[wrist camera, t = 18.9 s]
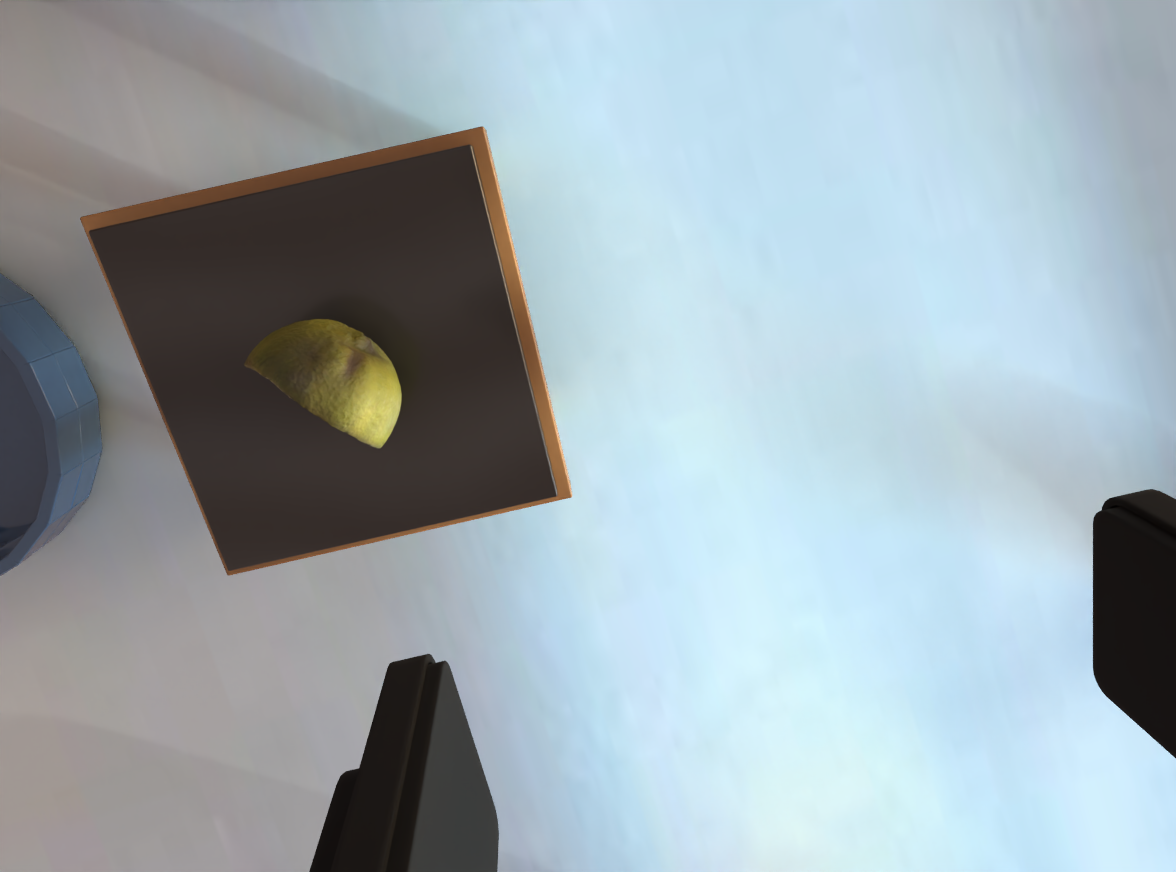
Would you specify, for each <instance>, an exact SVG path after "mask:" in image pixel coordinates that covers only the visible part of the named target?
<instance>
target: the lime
mask: <svg viewBox="0 0 1176 872" xmlns="http://www.w3.org/2000/svg"><path fill="white" fill-rule="evenodd" d="M244 366H246V367H248V368H251V369H252V370H255V371H256V372H258V373H259V374H260V375H262V376H263V377H265V378H267V379H269V380H270V381H271V382H273V383H274V384H275V385H276V386H277V387H278V388H279V389H280V390H281V391H282V392H284V393H285V394H286V395H288V397H289V398H291V399H293V400H294V401H296V402H297V403H298V404H299V405H300V406H301V407H302V408H305V409H306V410H308V411H309V412H310V413H312V414H313V415H316V416H318V417H319V418H320V419H322V420H323V421H325V422H327V423H328V424H329V425H331V426H332V427H334V428H336V429H338V430H339V431H342V432H345V433H347V434H348V435H350V436H352V437H354V438H356V439H357V440H358V441H360V442H363V443H365V444H368V445H370V446H371V447H373V448H376V449H380V448H381V447H382V446H383V445H384V443H385V442H386V441H387V439H388V437H389V436H390V434H391V432H392V430H393V428H394V426H395V424H396V421H397V418H398V416H399V412H400V407H401V398H402V393H401V386H400V383H399V380H398V377H397V374H396V371H395V368H394V366H393V364H392V362H391V361H390V359H389V358H388V357H387V355H386V354H385V353H384V351H383V350H382V349H381V348H380V347H379V346H378V345H377V344H376V343H374V342H373V341H372V340H371V339H370V338H368V337H366V336H365V335H364V334H363V333H362V332H360V331H357V330H355V329H353V328H350V327H348V326H347V325H345V324H343V323H341V322H338V321H334V320H329V319H313V320H305V321H299V322H295V323H292V324H290V325H287V326H285V327H282V328H280V329H278V330H276V331H274V332H272V333H270V334H269V335H268V336H267V337H265V338H264V339H263V340H262V341H260V343H259V344H258V345H257V346H256V347H255V348H254V349H253V350H252V351H251V353H250V354H249V356H248V358H247V360H246V362H245V363H244Z"/></svg>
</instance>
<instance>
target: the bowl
mask: <svg viewBox="0 0 1176 872" xmlns="http://www.w3.org/2000/svg"><path fill="white" fill-rule="evenodd" d="M101 452H102V438H101V428H100V417H99V406H98V399H97V395H96V393H95V390H94V388H93V386H92V384H91V381H90V379H89V377H88V374H87V372H86V370H85V368H84V365H83V363H82V361H81V358H80V356H79V354H78V352H77V349H76V347H75V346H74V345H73V343H72V342H71V341H70V340H69V339H68V337H67V336H66V335H65V334H64V333H63V331H62V330H61V329H60V328H59V327H58V325H57V324H56V323H55V322H54V321H53V319H52V318H51V317H50V316H49V315H48V313H47V312H46V311H45V310H44V309H43V307H42V306H41V305H40V304H39V303H38V301H37V300H36V299H34V297H33V296H32V295H30V294H29V293H28V292H26V291H25V290H23V289H22V288H21V287H19V286H18V285H16V284H15V283H14V282H12V281H11V280H9V279H8V278H7V277H5V276H4V275H2V274H1V273H0V576H1V575H3V574H4V573H6V572H8V571H9V570H11V569H13V568H14V567H16V566H18V565H19V564H20V563H22V562H23V561H24V560H26V559H27V558H28V557H29V556H31V555H32V554H33V553H35V552H36V551H37V550H39V549H40V548H41V547H43V546H44V545H45V544H46V543H48V542H49V541H50V540H52V539H53V538H54V537H56V536H57V535H58V534H60V533H61V532H62V531H63V529H64V528H65V527H66V526H67V524H68V523H69V522H70V520H71V519H72V518H73V517H74V515H75V514H76V513H77V511H78V510H79V509H80V507H81V506H82V505H83V504H84V502H85V501H86V500H87V498H88V497H89V495H90V492H91V488H92V485H93V481H94V478H95V474H96V470H97V467H98V463H99V460H100V456H101Z"/></svg>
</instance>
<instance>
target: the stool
mask: <svg viewBox="0 0 1176 872" xmlns="http://www.w3.org/2000/svg"><path fill="white" fill-rule="evenodd" d="M80 220H81V222H82V224H83V227H84V229H85V232H86V234H87V237H88V239H89V241H90V244H91V246H92V249H93V251H94V253H95V256H96V258H97V261H98V263H99V266H100V268H101V270H102V273H103V275H104V278H105V280H106V282H107V285H108V287H109V290H110V292H111V295H112V297H113V299H114V302H115V304H116V307H117V309H118V311H119V314H120V316H121V319H122V321H123V324H124V326H125V328H126V331H127V333H128V336H129V338H130V340H131V343H132V345H133V348H134V350H135V353H136V355H137V357H138V360H139V362H140V365H141V367H142V369H143V372H144V374H145V377H146V379H147V382H148V384H149V386H150V389H151V391H152V394H153V396H154V399H155V401H156V403H157V406H158V408H159V411H160V413H161V415H162V418H163V420H164V423H165V425H166V428H167V430H168V432H169V435H170V437H171V440H172V442H173V444H174V447H175V449H176V452H177V454H178V457H179V459H180V461H181V464H182V466H183V469H184V471H185V473H186V476H187V478H188V481H189V483H190V486H191V488H192V490H193V493H194V495H195V498H196V500H197V502H198V505H199V507H200V510H201V512H202V515H203V517H204V519H205V522H206V524H207V527H208V529H209V531H210V534H211V536H212V539H213V541H214V544H215V546H216V548H217V551H218V553H219V556H220V558H221V560H222V563H223V565H224V568H225V570H226V573H227V575H233V574H237V573H242V572H246V571H250V570H255V569H259V568H264V567H268V566H272V565H277V564H281V563H286V562H290V561H294V560H299V559H303V558H307V557H312V556H316V555H321V554H325V553H329V552H334V551H338V550H343V549H347V548H351V547H356V546H360V545H364V544H369V543H373V542H378V541H382V540H386V539H391V538H395V537H400V536H404V535H408V534H413V533H417V532H422V531H426V530H430V529H435V528H439V527H443V526H448V525H452V524H457V523H461V522H465V521H470V520H474V519H479V518H483V517H487V516H492V515H496V514H501V513H505V512H509V511H514V510H518V509H522V508H527V507H531V506H536V505H540V504H544V503H549V502H553V501H558V500H562V499H566V498H571V497H572V491H571V484H570V479H569V475H568V471H567V467H566V463H565V458H564V454H563V450H562V446H561V442H560V437H559V433H558V429H557V425H556V421H555V417H554V412H553V408H552V404H551V400H550V396H549V391H548V387H547V383H546V379H545V375H544V371H543V366H542V362H541V358H540V354H539V350H538V345H537V341H536V337H535V333H534V329H533V325H532V320H531V316H530V312H529V308H528V304H527V299H526V295H525V291H524V287H523V283H522V278H521V274H520V270H519V266H518V262H517V258H516V253H515V249H514V245H513V241H512V237H511V232H510V228H509V224H508V220H507V216H506V212H505V207H504V203H503V199H502V195H501V191H500V186H499V182H498V178H497V174H496V170H495V166H494V161H493V157H492V153H491V149H490V145H489V140H488V136H487V132H486V129H485V128H484V127H478V128H473V129H469V130H464V131H460V132H455V133H451V134H447V135H442V136H438V137H433V138H429V139H424V140H420V141H416V142H411V143H407V144H402V145H398V146H393V147H389V148H385V149H380V150H376V151H371V152H367V153H362V154H358V155H353V156H349V157H345V158H340V159H336V160H331V161H327V162H322V163H318V164H314V165H309V166H305V167H300V168H296V169H291V170H287V171H283V172H278V173H274V174H269V175H265V176H260V177H256V178H252V179H247V180H243V181H238V182H234V183H229V184H225V185H221V186H216V187H212V188H207V189H203V190H198V191H194V192H190V193H185V194H181V195H176V196H172V197H167V198H163V199H159V200H154V201H150V202H145V203H141V204H136V205H132V206H128V207H123V208H119V209H114V210H110V211H105V212H101V213H97V214H92V215H88V216H83V217H81V218H80ZM313 319H329V320H334V321H338V322H341V323H343V324H345V325H347V326H348V327H350V328H353V329H355V330H357V331H360V332H362V333H363V334H364V335H365V336H366V337H368V338H370V339H371V340H372V341H373V342H374V343H376V344H377V345H378V346H379V347H380V348H381V349H382V350H383V351H384V353H385V354H386V355H387V357H388V358H389V359H390V361H391V362H392V364H393V366H394V368H395V371H396V374H397V377H398V380H399V383H400V386H401V393H402V398H401V407H400V412H399V416H398V418H397V421H396V424H395V426H394V428H393V430H392V432H391V434H390V436H389V437H388V439H387V441H386V442H385V443H384V445H383V446H382V447H381V448H380V449H376V448H373V447H371V446H370V445H368V444H365V443H363V442H360V441H358V440H357V439H356V438H354V437H352V436H350V435H348V434H347V433H345V432H342V431H339V430H338V429H336V428H334V427H332V426H331V425H329V424H328V423H327V422H325V421H323V420H322V419H320V418H319V417H318V416H316V415H313V414H312V413H310V412H309V411H308V410H306V409H305V408H302V407H301V406H300V405H299V404H298V403H297V402H296V401H294V400H293V399H291V398H289V397H288V395H286V394H285V393H284V392H282V391H281V390H280V389H279V388H278V387H277V386H276V385H275V384H274V383H273V382H271V381H270V380H269V379H267V378H265V377H263V376H262V375H260V374H259V373H258V372H256V371H255V370H252V369H251V368H248V367H246V366H244V363H245V362H246V360H247V358H248V356H249V354H250V353H251V351H252V350H253V349H254V348H255V347H256V346H257V345H258V344H259V343H260V341H262V340H263V339H264V338H265V337H267V336H268V335H269V334H270V333H272V332H274V331H276V330H278V329H280V328H282V327H285V326H287V325H290V324H292V323H295V322H299V321H305V320H313Z"/></svg>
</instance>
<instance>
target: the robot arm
mask: <svg viewBox="0 0 1176 872" xmlns="http://www.w3.org/2000/svg"><path fill="white" fill-rule="evenodd" d="M1093 671H1094V676H1095V679H1096V681H1097V683H1098V686H1099V687H1100V689H1101V690H1102V692H1103V693H1104V694H1105V695H1106V696H1107V697H1108V698H1109V699H1110V700H1111V701H1112V702H1113V703H1114V704H1116V705H1117V706H1118V707H1119V708H1120V709H1121V710H1122V711H1123V712H1124V713H1126V714H1127V715H1128V716H1129V717H1130V718H1131V719H1132V720H1133V721H1135V722H1136V723H1137V724H1138V725H1139V726H1140V727H1141V728H1142V729H1144V730H1145V731H1146V732H1147V733H1148V734H1149V735H1150V736H1151V737H1152V738H1154V739H1155V740H1156V741H1157V742H1158V743H1159V744H1160V745H1161V746H1163V747H1164V748H1165V749H1166V750H1167V751H1168V752H1169V753H1170V754H1171V755H1173V756H1174V757H1175V758H1176V499H1174V498H1172V497H1170V496H1168V495H1166V494H1164V493H1162V492H1160V491H1157V490H1154V489H1150V490H1144V491H1139V492H1135V493H1131V494H1126V495H1122V496H1117V497H1113V498H1109V499H1108V500H1107V501H1105V503H1104V505H1103V507H1102V511H1099V512H1098V513H1096V515H1095V517H1094V521H1093ZM498 840H499V830H498V820H497V814H496V810H495V806H494V803H493V800H492V796H491V793H490V790H489V787H488V784H487V781H486V778H485V775H484V772H483V768H482V765H481V762H480V759H479V756H478V753H477V750H476V747H475V744H474V740H473V737H472V734H471V731H470V728H469V725H468V722H467V719H466V716H465V712H464V709H463V706H462V703H461V700H460V697H459V694H458V691H457V688H456V684H455V681H454V678H453V675H452V672H451V669H450V666H449V664H448V663H447V662H446V661H442V662H438V663H435V660H434V659H433V657H432V655H430V654H426V655H422V656H417V657H413V658H409V659H404V660H400V661H395V662H392V663H390V664H389V666H388V668H387V672H386V676H385V679H384V683H383V686H382V690H381V693H380V697H379V700H378V704H377V707H376V711H375V715H374V718H373V722H372V725H371V729H370V732H369V736H368V739H367V743H366V746H365V750H364V754H363V757H362V761H361V764H360V768H359V769H355V770H350V771H346V772H345V773H343V774H342V775H341V776H340V778H339V781H338V783H337V785H336V788H335V791H334V794H333V798H332V801H331V804H330V807H329V811H328V814H327V817H326V820H325V823H324V827H323V830H322V833H321V836H320V839H319V843H318V846H317V849H316V852H315V855H314V859H313V862H312V865H311V868H310V871H309V872H497V864H498Z"/></svg>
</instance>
